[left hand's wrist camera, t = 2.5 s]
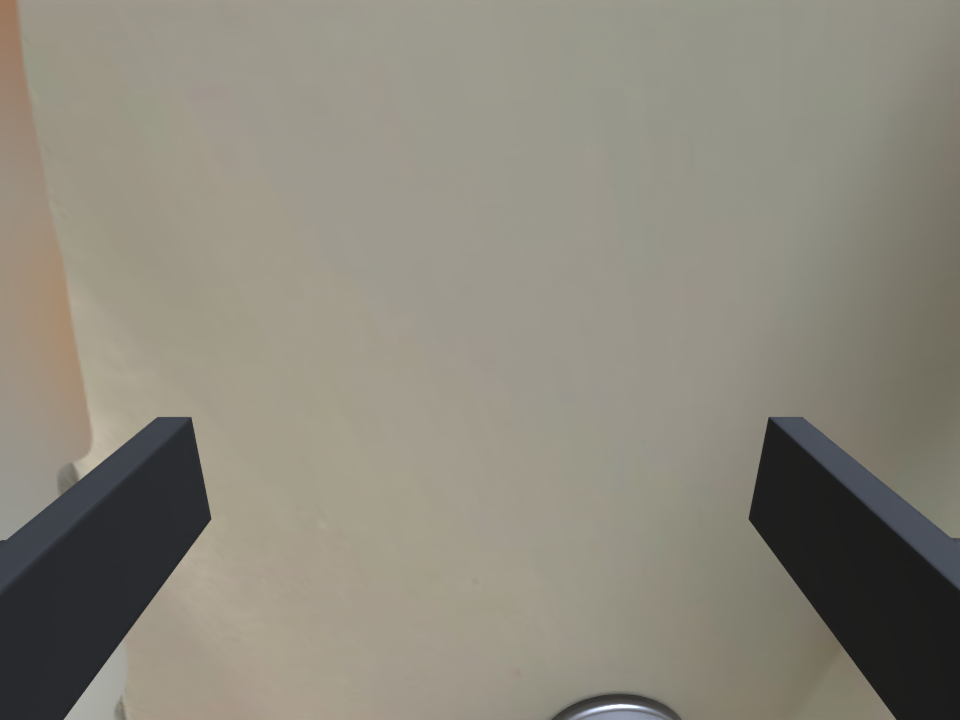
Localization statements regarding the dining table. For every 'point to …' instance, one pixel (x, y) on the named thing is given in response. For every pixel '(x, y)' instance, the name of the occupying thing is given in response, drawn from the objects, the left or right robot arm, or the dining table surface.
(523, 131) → the dining table surface
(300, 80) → the dining table surface
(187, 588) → the dining table surface
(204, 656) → the dining table surface
